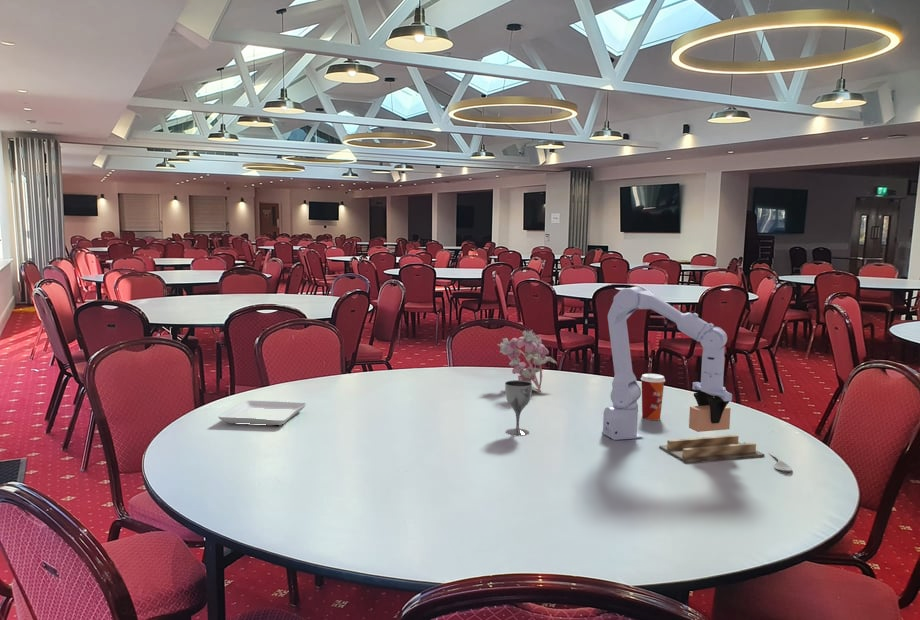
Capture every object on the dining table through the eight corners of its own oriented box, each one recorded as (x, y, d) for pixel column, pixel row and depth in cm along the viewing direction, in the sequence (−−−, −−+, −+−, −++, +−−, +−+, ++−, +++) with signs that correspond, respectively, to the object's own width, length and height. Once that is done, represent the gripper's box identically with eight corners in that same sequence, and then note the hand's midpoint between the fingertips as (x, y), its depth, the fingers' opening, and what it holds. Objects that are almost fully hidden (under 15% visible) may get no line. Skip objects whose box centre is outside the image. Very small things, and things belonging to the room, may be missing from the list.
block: (720, 425, 182) (721, 404, 182) (729, 429, 179) (730, 408, 178) (688, 427, 180) (689, 406, 179) (697, 431, 176) (698, 410, 175)
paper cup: (658, 422, 207) (660, 379, 205) (635, 418, 211) (637, 376, 210) (667, 417, 213) (669, 375, 211) (644, 413, 217) (646, 372, 216)
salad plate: (307, 411, 217) (307, 401, 216) (284, 430, 196) (284, 419, 195) (246, 409, 219) (246, 399, 218) (217, 427, 198) (216, 416, 197)
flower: (575, 383, 252) (553, 324, 257) (551, 389, 233) (528, 324, 238) (531, 399, 262) (511, 341, 267) (505, 406, 243) (484, 343, 248)
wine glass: (499, 433, 193) (500, 384, 192) (510, 426, 200) (511, 379, 199) (524, 437, 190) (525, 387, 188) (534, 430, 197) (535, 382, 195)
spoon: (777, 475, 163) (777, 468, 163) (761, 449, 183) (761, 443, 183) (795, 476, 162) (795, 470, 162) (777, 450, 182) (777, 444, 182)
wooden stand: (686, 463, 170) (687, 453, 169) (659, 447, 182) (659, 437, 182) (764, 456, 176) (765, 446, 175) (732, 441, 188) (733, 432, 188)
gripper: (742, 377, 172) (740, 427, 173) (708, 366, 185) (706, 412, 187) (719, 378, 170) (717, 428, 171) (686, 367, 184) (684, 414, 185)
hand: (710, 420), depth 179 cm, fingers closed on block, 4 cm apart
